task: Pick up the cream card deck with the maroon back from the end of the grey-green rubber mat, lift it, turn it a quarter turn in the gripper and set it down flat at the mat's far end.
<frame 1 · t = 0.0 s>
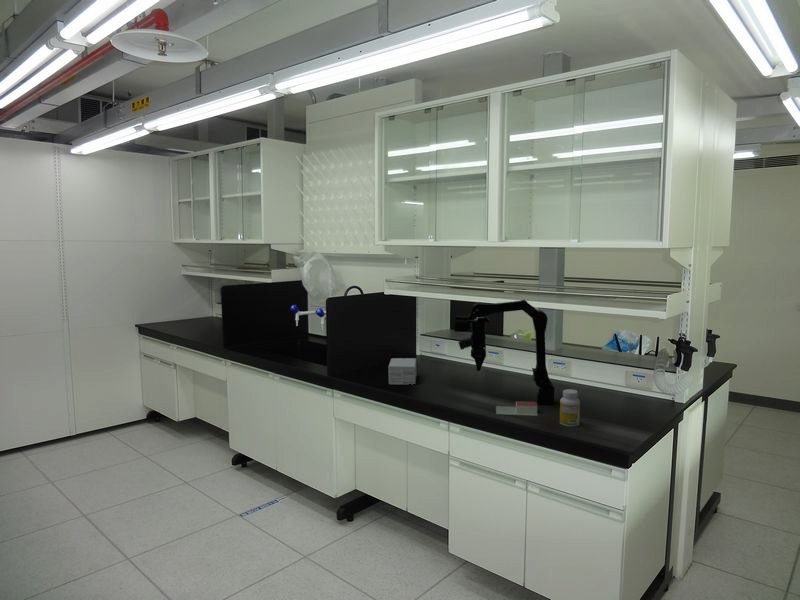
hand: (478, 368, 227), 15 cm above the worktop, tool pointing down, fingers open, 9 cm apart
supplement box: (402, 380, 265), on the worktop
mat: (516, 411, 215), on the worktop
card deck: (526, 411, 214), resting on mat
supplement bottle: (569, 424, 200), on the worktop
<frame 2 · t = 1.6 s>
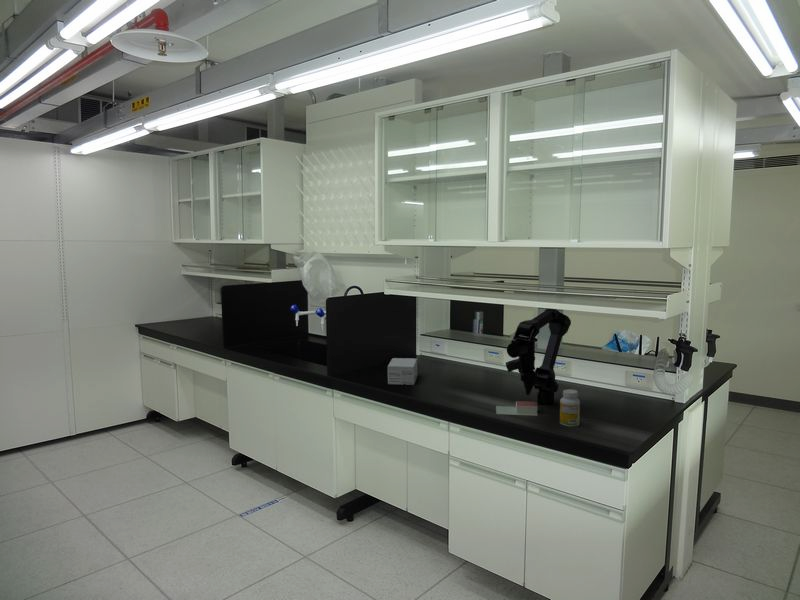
hand: (526, 391, 213), 9 cm above the worktop, tool pointing down, fingers open, 9 cm apart
nothing on the worktop moved.
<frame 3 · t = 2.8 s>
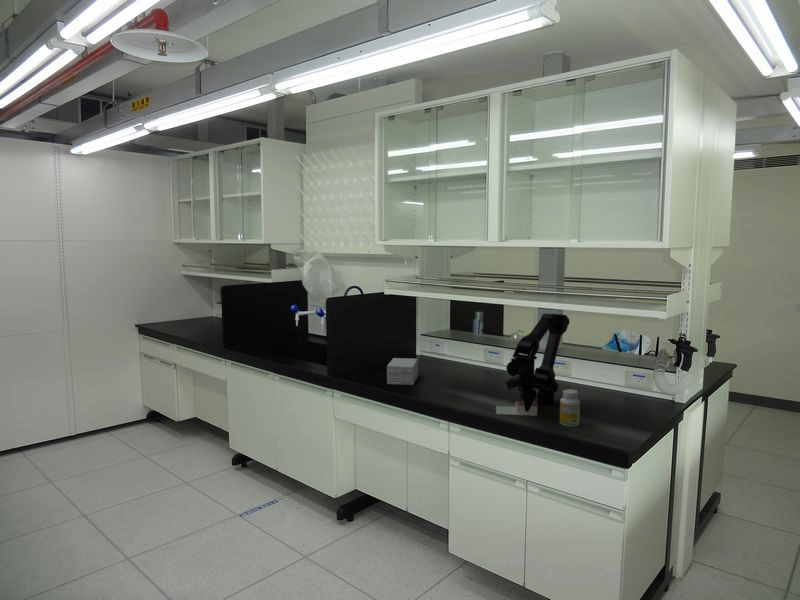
hand: (526, 409, 214), 1 cm above the worktop, tool pointing down, fingers closed on card deck, 5 cm apart
card deck: (526, 411, 214), resting on mat, touching gripper
everything else where it was.
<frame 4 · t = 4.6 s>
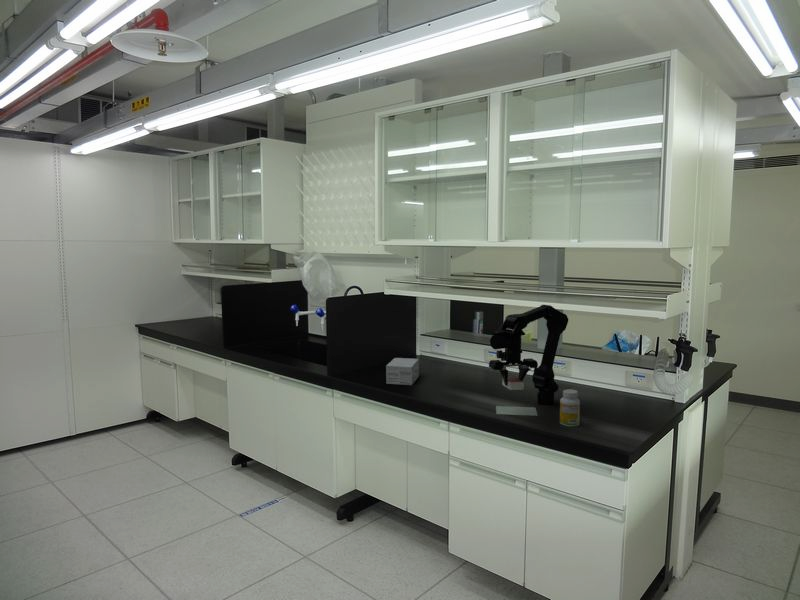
hand: (512, 385, 213), 11 cm above the worktop, tool pointing down, fingers closed on card deck, 5 cm apart
card deck: (512, 387, 213), point 11 cm above the worktop, touching gripper
everything else where it was.
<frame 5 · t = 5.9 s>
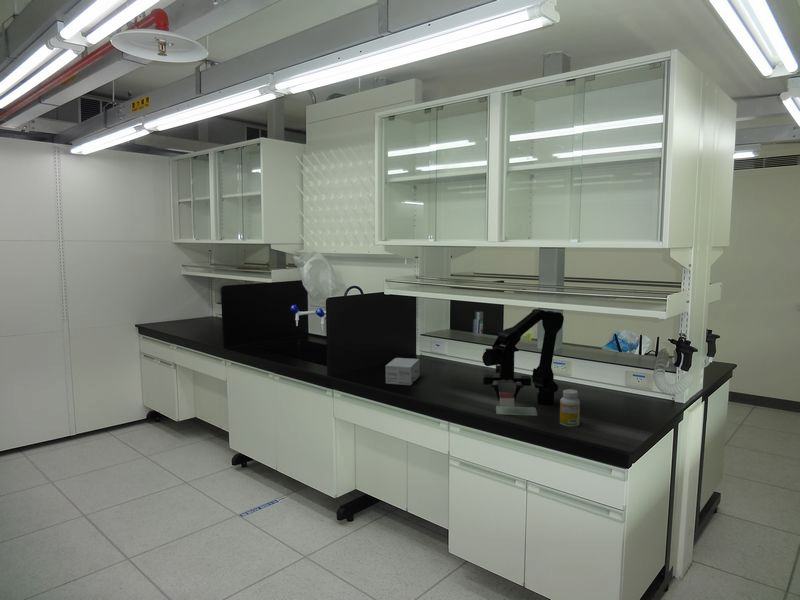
hand: (506, 400, 214), 5 cm above the worktop, tool pointing down, fingers closed on card deck, 5 cm apart
card deck: (506, 402, 214), point 4 cm above the worktop, touching gripper
when the fingers open (3 cm above the worktop, at t = 6.7 s): card deck drops 1 cm, resting on mat.
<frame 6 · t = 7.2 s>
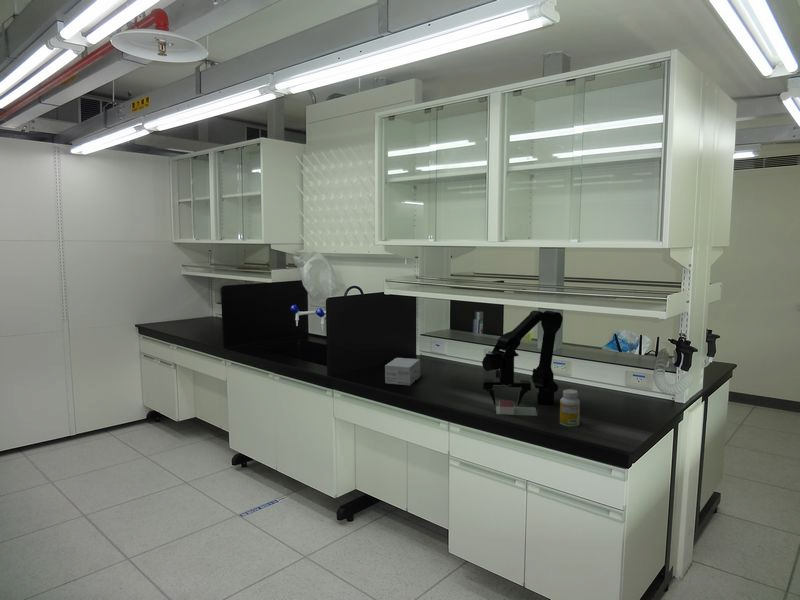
hand: (506, 405, 214), 3 cm above the worktop, tool pointing down, fingers open, 9 cm apart
card deck: (506, 411, 214), resting on mat
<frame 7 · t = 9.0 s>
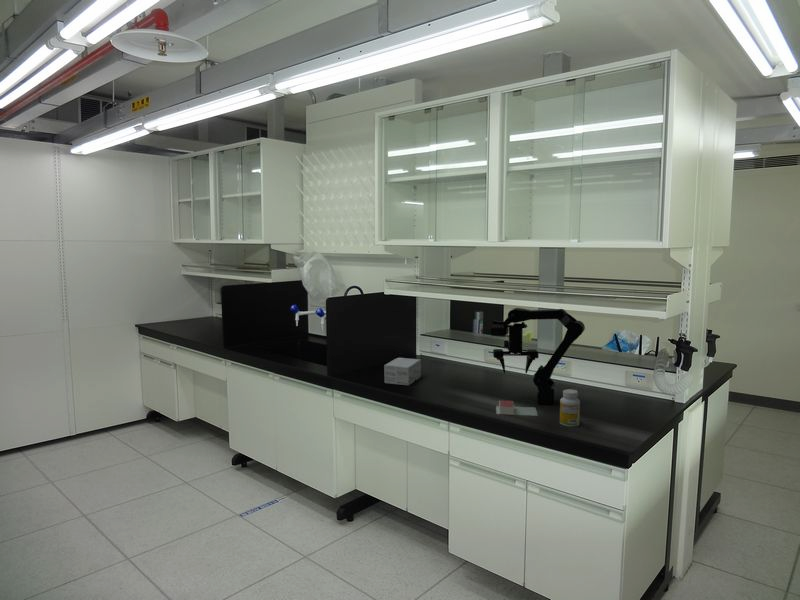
hand: (515, 373, 229), 12 cm above the worktop, tool pointing down, fingers open, 9 cm apart
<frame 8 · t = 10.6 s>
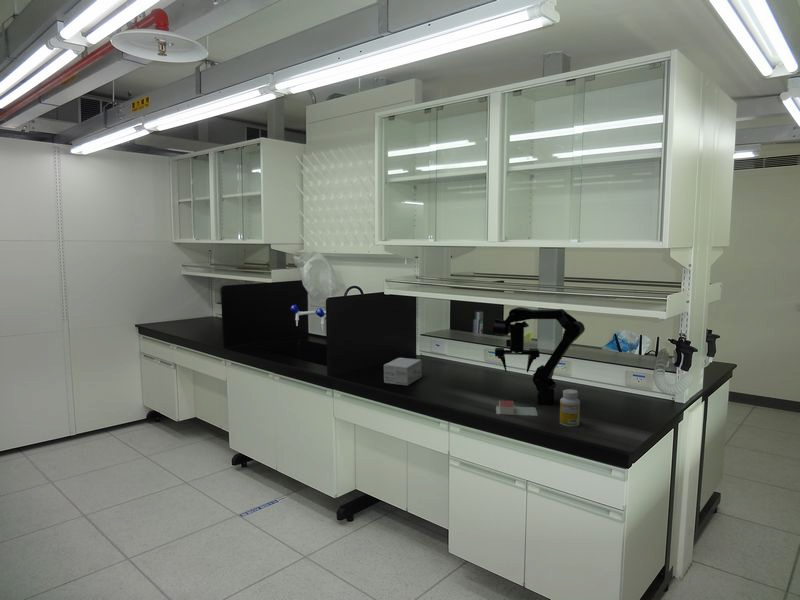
hand: (516, 371, 231), 12 cm above the worktop, tool pointing down, fingers open, 9 cm apart
at the end: card deck inside the target area (0.2 cm from its centre), point 0.5 cm above the worktop; card deck tilted 0°; the gripper is holding nothing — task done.
